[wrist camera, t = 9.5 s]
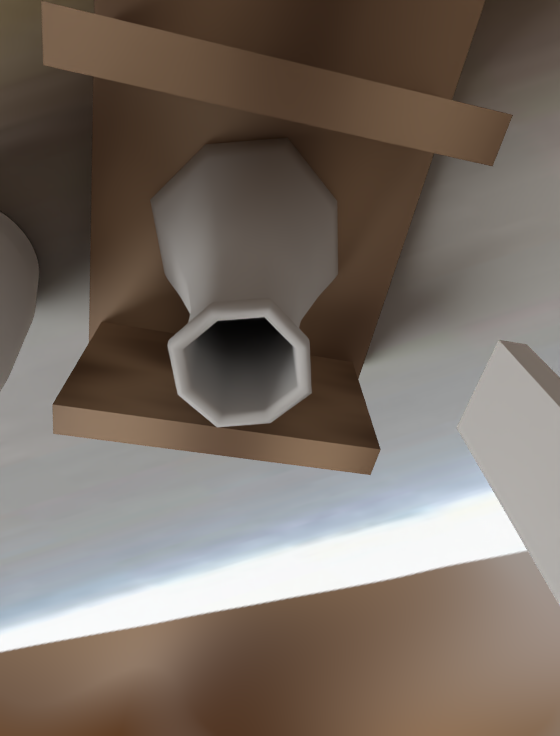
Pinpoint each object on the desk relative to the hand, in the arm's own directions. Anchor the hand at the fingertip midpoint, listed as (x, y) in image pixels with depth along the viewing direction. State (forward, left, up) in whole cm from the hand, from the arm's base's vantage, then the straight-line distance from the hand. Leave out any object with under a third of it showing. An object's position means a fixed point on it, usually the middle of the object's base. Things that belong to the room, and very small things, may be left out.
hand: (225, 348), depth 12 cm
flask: (0, 0, -9) cm, 9 cm away
